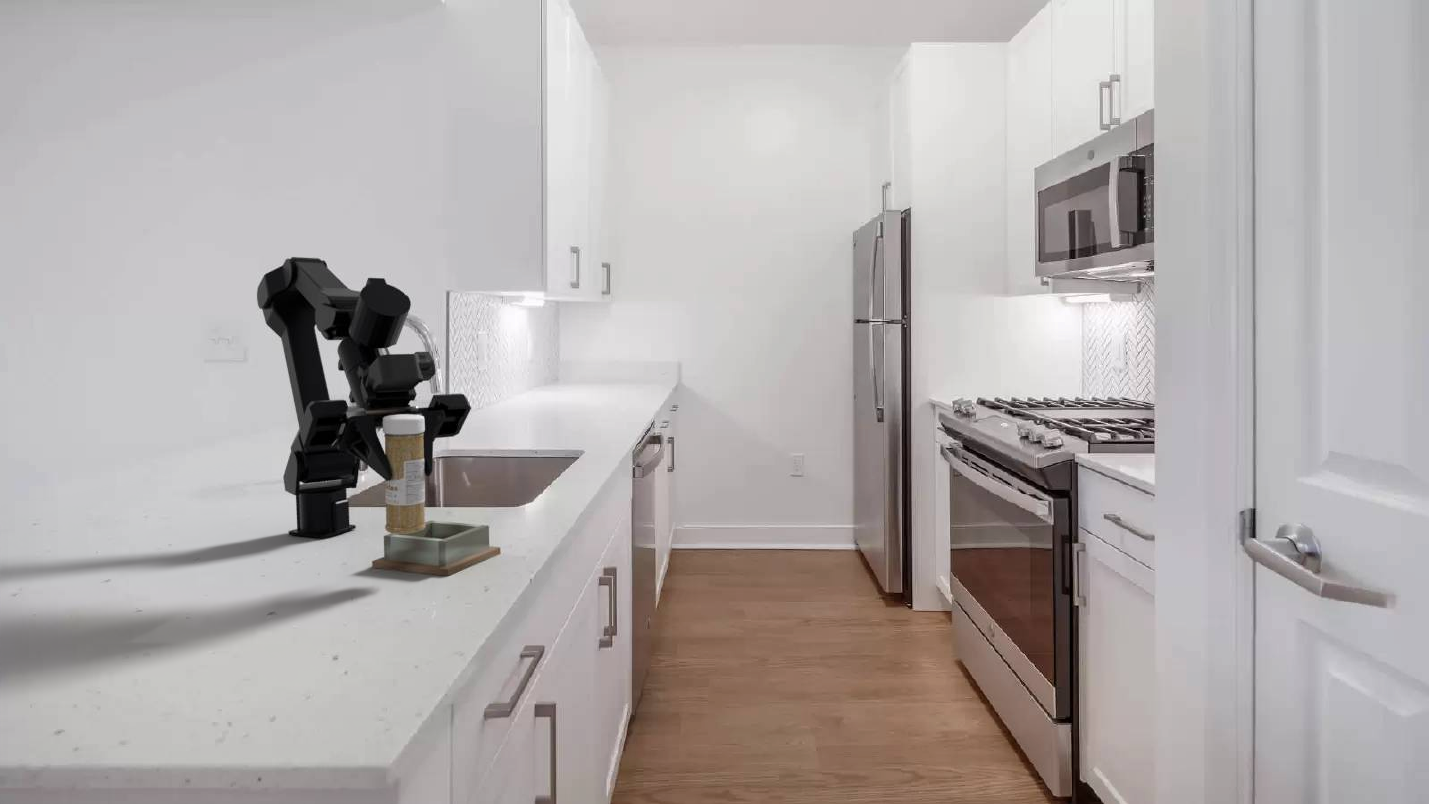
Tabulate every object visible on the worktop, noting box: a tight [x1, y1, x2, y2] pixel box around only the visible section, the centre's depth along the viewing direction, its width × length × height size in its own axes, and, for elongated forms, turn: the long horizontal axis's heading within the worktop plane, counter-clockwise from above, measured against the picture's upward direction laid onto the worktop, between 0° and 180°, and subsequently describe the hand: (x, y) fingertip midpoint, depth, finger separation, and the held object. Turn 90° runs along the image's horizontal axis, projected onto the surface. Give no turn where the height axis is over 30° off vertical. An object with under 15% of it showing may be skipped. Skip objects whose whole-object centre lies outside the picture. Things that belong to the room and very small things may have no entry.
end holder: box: [371, 520, 501, 577], centre depth 109 cm, size 11×11×4 cm
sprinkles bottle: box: [382, 414, 426, 534], centre depth 101 cm, size 5×5×13 cm
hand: (409, 476), depth 100 cm, fingers closed on sprinkles bottle, 4 cm apart
